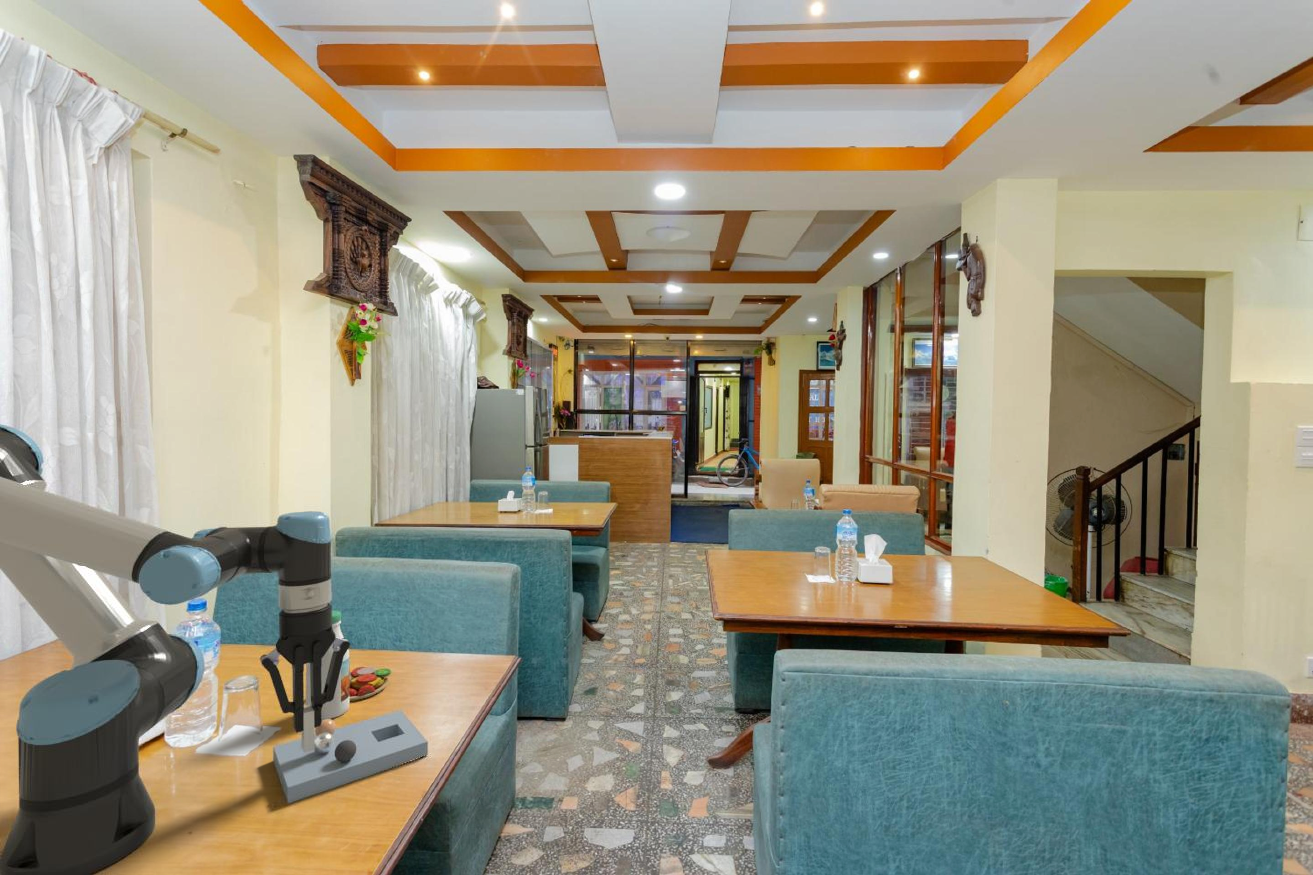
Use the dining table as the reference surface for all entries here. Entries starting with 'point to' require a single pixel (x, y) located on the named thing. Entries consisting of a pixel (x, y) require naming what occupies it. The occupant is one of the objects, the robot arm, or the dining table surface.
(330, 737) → the steel ball
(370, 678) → the toy food set
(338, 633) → the milk bottle
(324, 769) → the board
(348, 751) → the black ball
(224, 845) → the dining table surface
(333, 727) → the terracotta ball
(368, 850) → the dining table surface
